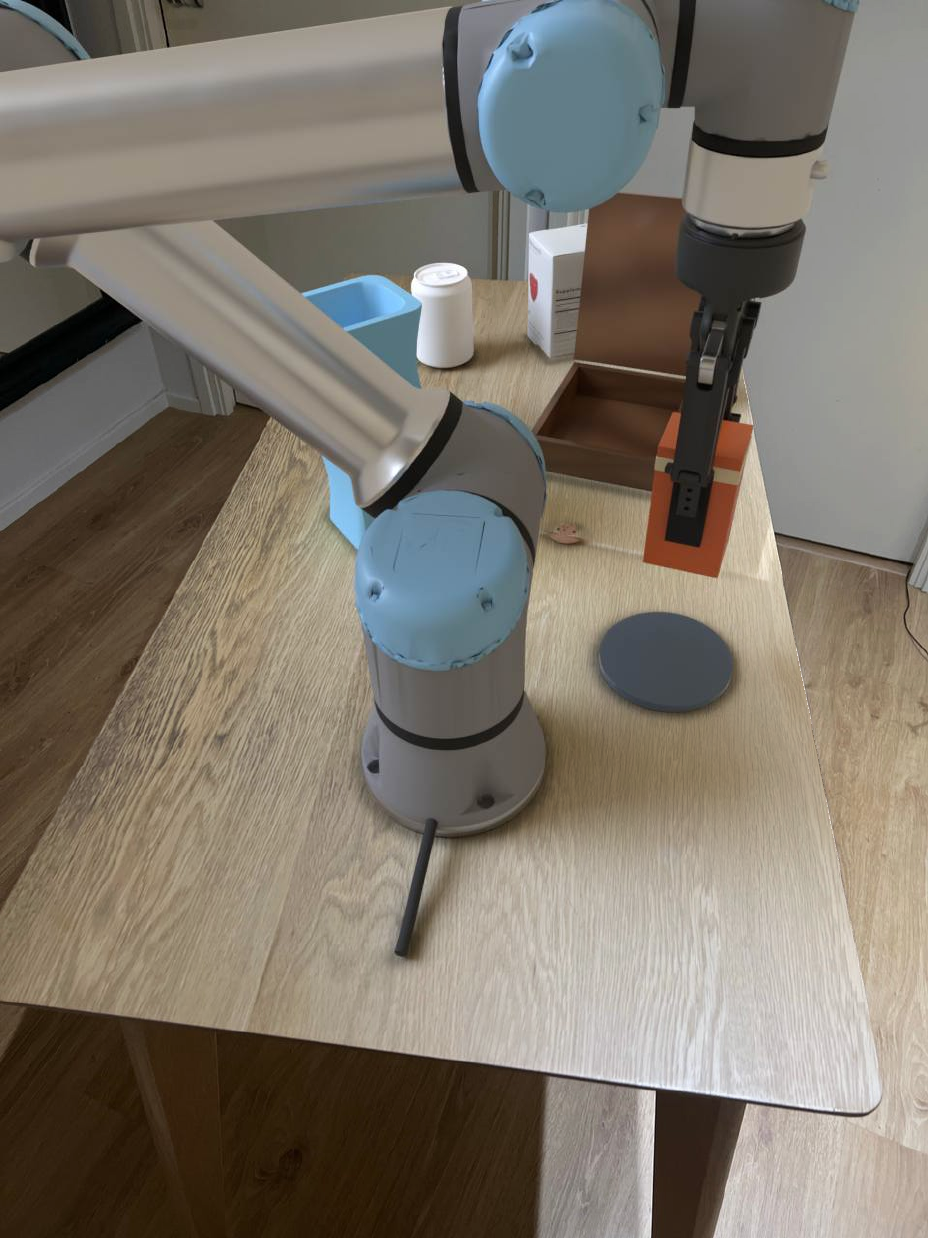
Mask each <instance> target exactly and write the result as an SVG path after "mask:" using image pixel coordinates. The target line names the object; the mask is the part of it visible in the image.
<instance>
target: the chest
mask: <svg viewBox="0 0 928 1238" xmlns="http://www.w3.org/2000/svg"><path fill="white" fill-rule="evenodd" d="M685 382H686V378H680V377H675V376H668V375H660V374H654V373H648V372H641V371H636V370H629V369H624V368H616V367H609V366H604V365H596V364H590V363H584V362H578V361H574V362H573V363H572V365H571V367H570V368H569V370H568V372H566V375H565V376H564V378H563V379H562V380H561V382H560V384H559V386H558V387H557V389H556V390H555V392H554V394H553V395H552V397H551V398H550V400H549V402H548V403H547V405H546V407H545V408H544V410H543V411H542V413H541V414H540V416H539V417H538V419H537V421H536V422H535V423H534V425H533V427H532V428H531V429H530V430H531V431H532V433H533V434H534V436H535V437H536V439H537V441H538V443H539V445H540V448H541V450H542V453H543V457H544V461H545V469H546V472H549V473H554V474H559V475H563V476H569V477H575V478H578V479H579V478H580V479H585V480H590V481H595V482H600V483H606V484H611V485H615V486H620V487H625V488H631V489H636V490H640V491H641V490H642V491H645V492H651V493H652V489H653V481H654V474H655V461H656V456H657V452H658V446H659V443H660V441H661V439H662V436H663V434H664V432H665V429H666V427H667V425H668V422H669V420H670V418H671V415H672V413H673V412H677V413H681V410H682V403H683V397H684V390H685Z"/></svg>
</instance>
